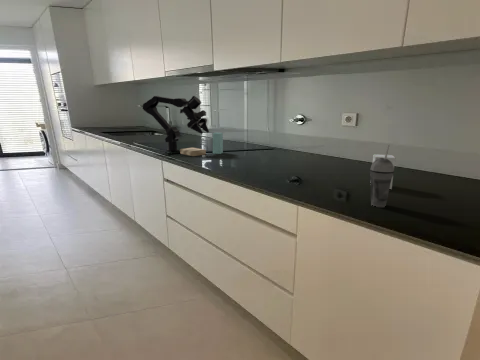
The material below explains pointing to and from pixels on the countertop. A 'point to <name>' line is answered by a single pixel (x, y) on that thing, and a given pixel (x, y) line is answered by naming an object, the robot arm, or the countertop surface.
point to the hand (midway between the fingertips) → (205, 132)
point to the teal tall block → (217, 143)
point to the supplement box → (389, 157)
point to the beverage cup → (381, 180)
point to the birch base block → (193, 151)
